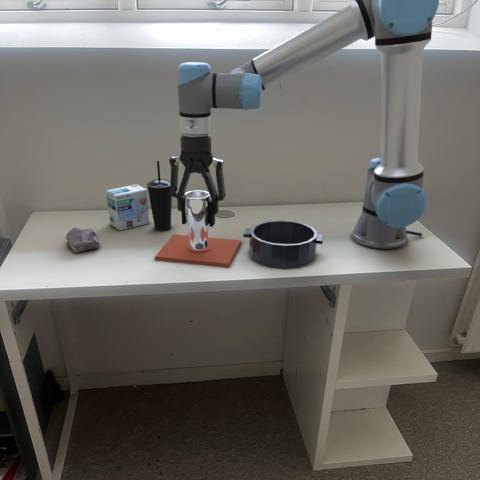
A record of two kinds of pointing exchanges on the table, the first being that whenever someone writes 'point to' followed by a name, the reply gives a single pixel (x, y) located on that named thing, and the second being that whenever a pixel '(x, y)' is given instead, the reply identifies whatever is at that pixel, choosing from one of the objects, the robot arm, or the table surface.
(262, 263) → the pot
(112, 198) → the light bulb box
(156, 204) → the drinking cup
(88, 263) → the table surface
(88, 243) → the rock
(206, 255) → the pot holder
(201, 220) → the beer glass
